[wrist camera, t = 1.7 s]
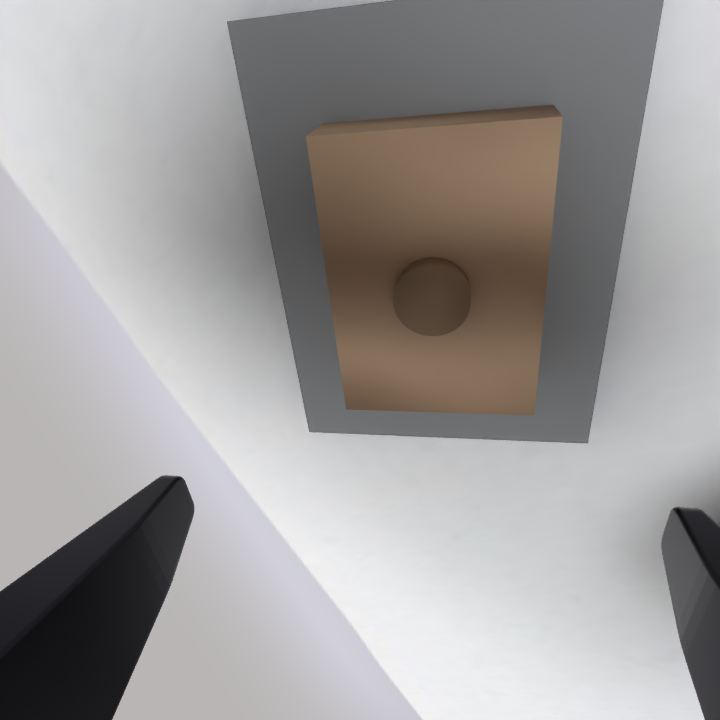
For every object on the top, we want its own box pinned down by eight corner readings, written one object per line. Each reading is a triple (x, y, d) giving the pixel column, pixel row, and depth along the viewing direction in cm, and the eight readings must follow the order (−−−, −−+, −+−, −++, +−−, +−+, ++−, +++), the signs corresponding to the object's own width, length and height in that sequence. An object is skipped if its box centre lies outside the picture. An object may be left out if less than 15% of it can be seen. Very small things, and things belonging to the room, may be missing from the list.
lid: (529, 383, 21) (536, 430, 19) (355, 379, 22) (341, 422, 20) (553, 104, 15) (567, 122, 13) (322, 123, 17) (298, 142, 15)
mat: (583, 427, 23) (587, 443, 22) (314, 418, 25) (309, 431, 24) (658, -33, 14) (669, -35, 13) (239, 20, 17) (226, 21, 16)
